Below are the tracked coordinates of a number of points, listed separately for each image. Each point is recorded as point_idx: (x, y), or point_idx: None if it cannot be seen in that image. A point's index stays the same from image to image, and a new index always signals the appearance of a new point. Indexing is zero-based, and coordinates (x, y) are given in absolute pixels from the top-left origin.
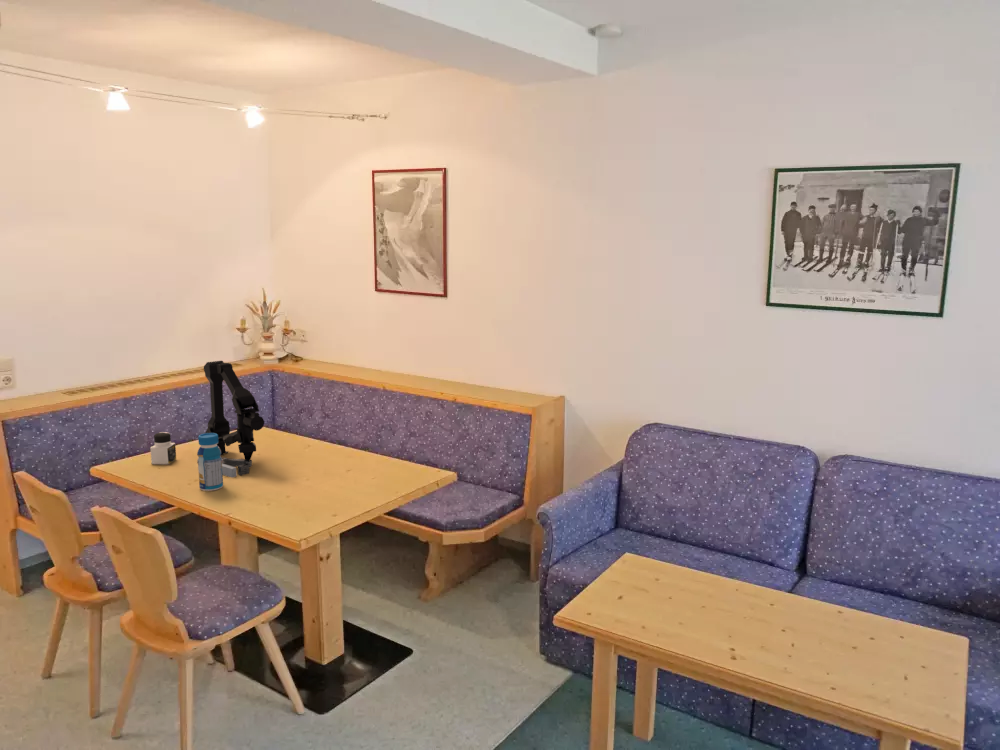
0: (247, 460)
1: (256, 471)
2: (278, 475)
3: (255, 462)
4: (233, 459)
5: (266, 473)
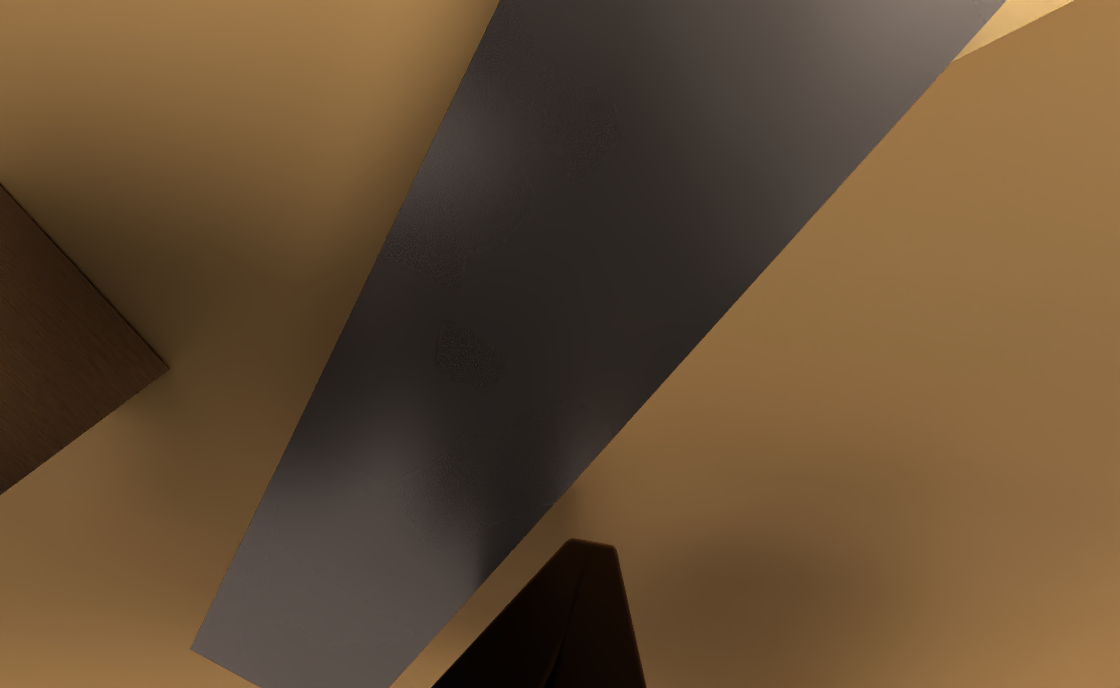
0: (290, 645)
1: (225, 536)
2: (33, 685)
3: (898, 682)
4: (594, 259)
5: (111, 614)
